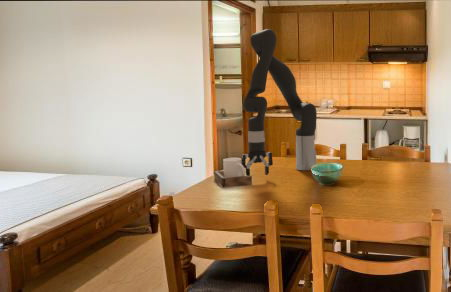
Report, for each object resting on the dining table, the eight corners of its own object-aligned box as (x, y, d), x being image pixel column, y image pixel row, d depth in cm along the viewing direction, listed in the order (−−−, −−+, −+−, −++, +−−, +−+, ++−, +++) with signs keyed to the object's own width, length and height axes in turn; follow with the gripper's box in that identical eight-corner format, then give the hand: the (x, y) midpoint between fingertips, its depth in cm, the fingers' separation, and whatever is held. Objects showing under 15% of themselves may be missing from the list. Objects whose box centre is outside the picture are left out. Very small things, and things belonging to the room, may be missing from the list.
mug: (251, 182, 228) (250, 159, 227) (237, 185, 223) (237, 162, 221) (233, 178, 237) (233, 157, 236) (220, 181, 232) (219, 159, 230)
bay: (241, 177, 240) (241, 169, 239) (251, 185, 223) (251, 176, 222) (214, 179, 237) (214, 171, 236) (222, 187, 220) (222, 178, 219)
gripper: (268, 138, 235) (269, 172, 237) (239, 140, 232) (240, 175, 234) (274, 140, 228) (274, 175, 230) (243, 142, 224) (244, 178, 227)
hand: (257, 175), depth 232 cm, fingers open, 8 cm apart
